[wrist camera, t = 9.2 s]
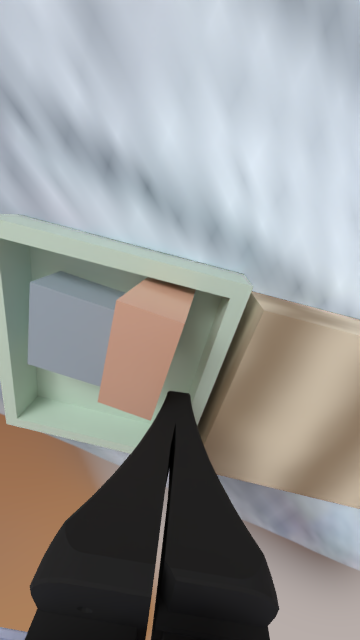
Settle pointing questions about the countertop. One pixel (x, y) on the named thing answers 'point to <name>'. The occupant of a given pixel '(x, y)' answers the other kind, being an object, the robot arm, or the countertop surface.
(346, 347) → the birch board
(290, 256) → the countertop surface
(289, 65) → the countertop surface
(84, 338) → the slate tile
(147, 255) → the tray
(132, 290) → the terracotta tile
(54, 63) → the countertop surface
